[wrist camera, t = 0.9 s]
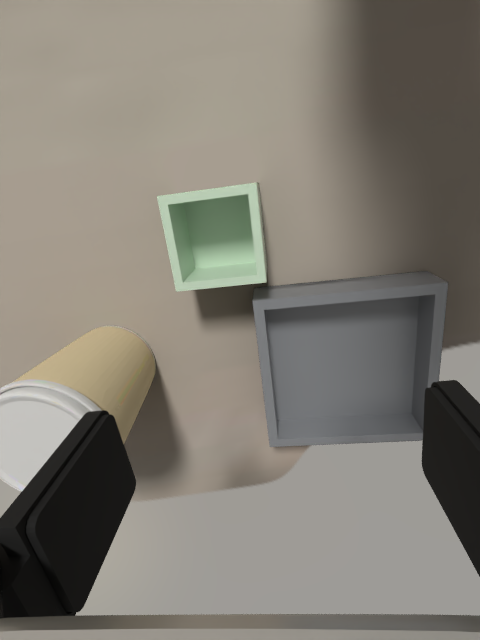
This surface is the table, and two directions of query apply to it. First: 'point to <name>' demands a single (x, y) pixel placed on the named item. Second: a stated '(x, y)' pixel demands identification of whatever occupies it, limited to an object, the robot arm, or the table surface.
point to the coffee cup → (71, 397)
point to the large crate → (349, 357)
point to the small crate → (215, 237)
